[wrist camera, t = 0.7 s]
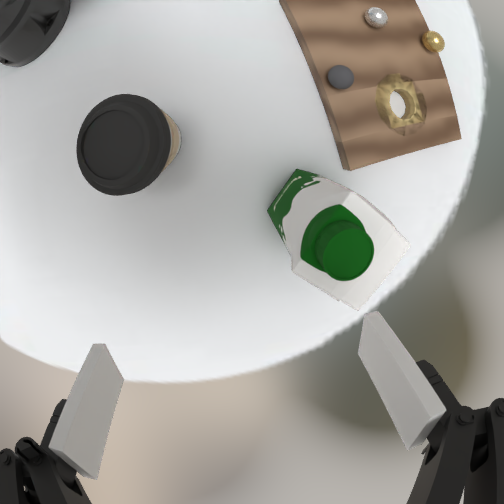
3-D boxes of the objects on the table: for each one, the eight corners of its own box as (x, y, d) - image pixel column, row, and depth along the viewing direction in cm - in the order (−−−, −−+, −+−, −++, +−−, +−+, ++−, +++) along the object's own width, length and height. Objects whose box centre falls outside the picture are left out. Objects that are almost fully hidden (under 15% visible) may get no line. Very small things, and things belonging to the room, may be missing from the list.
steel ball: (357, 11, 25) (367, 4, 22) (375, 11, 24) (386, 4, 22) (366, 30, 26) (377, 23, 23) (384, 29, 26) (396, 23, 23)
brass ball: (414, 33, 26) (427, 27, 22) (429, 33, 25) (443, 29, 22) (422, 54, 27) (437, 50, 24) (437, 54, 27) (452, 50, 23)
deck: (278, 1, 26) (282, -7, 24) (402, -4, 24) (410, -9, 22) (343, 168, 36) (350, 170, 34) (451, 137, 35) (461, 138, 32)
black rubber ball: (320, 70, 28) (329, 64, 25) (342, 66, 28) (353, 60, 25) (329, 93, 30) (338, 89, 27) (351, 88, 29) (362, 84, 26)
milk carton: (294, 159, 35) (364, 184, 17) (345, 197, 38) (433, 253, 19) (257, 212, 38) (285, 289, 19) (309, 246, 40) (367, 334, 22)
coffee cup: (197, 113, 32) (176, 96, 18) (182, 181, 35) (153, 209, 21) (131, 104, 30) (76, 89, 17) (119, 170, 34) (60, 192, 20)
